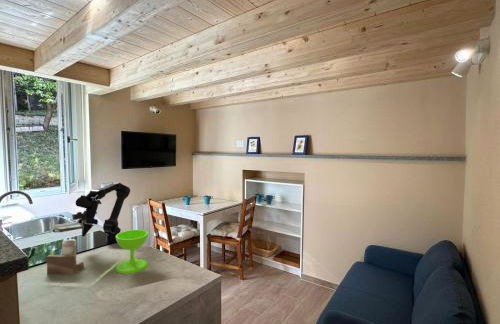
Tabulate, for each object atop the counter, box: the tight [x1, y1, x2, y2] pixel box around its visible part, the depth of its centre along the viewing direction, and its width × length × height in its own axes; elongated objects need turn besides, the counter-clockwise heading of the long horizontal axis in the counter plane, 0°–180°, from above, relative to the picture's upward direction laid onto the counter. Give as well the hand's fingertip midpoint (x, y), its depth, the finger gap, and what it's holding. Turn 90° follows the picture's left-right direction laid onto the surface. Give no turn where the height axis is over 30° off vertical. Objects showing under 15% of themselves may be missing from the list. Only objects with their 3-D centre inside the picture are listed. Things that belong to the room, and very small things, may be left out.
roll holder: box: [46, 254, 85, 276], centre depth 137 cm, size 19×14×10 cm
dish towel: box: [51, 221, 82, 233], centre depth 202 cm, size 19×18×3 cm
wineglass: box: [115, 229, 149, 275], centre depth 141 cm, size 16×16×18 cm
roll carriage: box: [61, 238, 81, 266], centre depth 135 cm, size 9×9×14 cm
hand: (82, 236), depth 151 cm, fingers closed
